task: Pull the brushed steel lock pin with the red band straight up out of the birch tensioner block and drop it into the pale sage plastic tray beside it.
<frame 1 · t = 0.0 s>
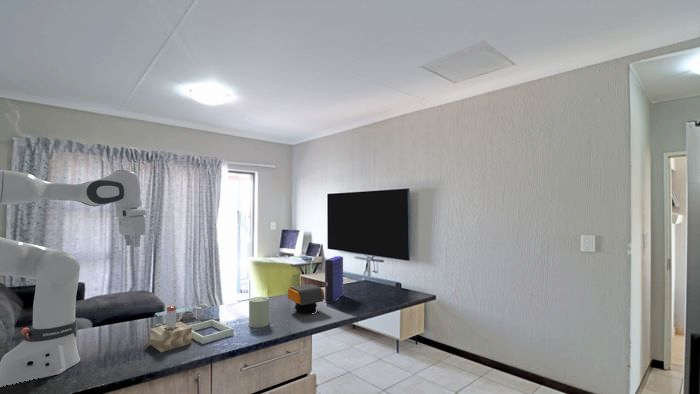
hand: (132, 246, 135), 39 cm above the kitchen counter, tool pointing down, fingers open, 8 cm apart
pulley system: (187, 323, 161), on the kitchen counter
sander: (301, 310, 180), on the kitchen counter
tray: (208, 336, 142), on the kitchen counter
tensioner block: (170, 346, 132), on the kitchen counter
cereal box: (334, 299, 201), on the kitchen counter
lock pin: (170, 343, 132), point 1 cm above the kitchen counter, touching tensioner block
can: (259, 324, 157), on the kitchen counter
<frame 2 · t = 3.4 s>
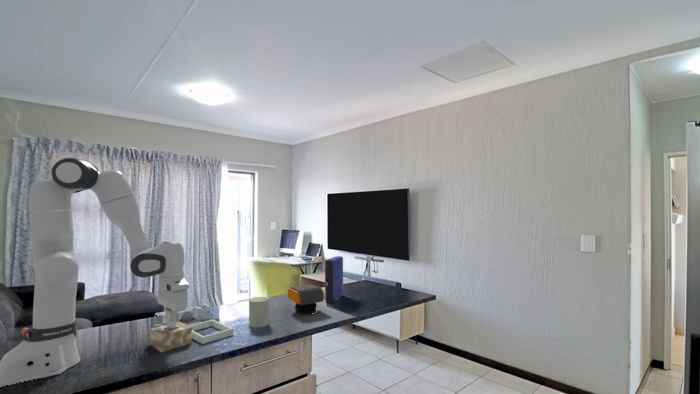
hand: (171, 318, 132), 11 cm above the kitchen counter, tool pointing down, fingers closed on lock pin, 3 cm apart
lock pin: (170, 343, 132), point 1 cm above the kitchen counter, touching gripper, tensioner block
everything else where it was.
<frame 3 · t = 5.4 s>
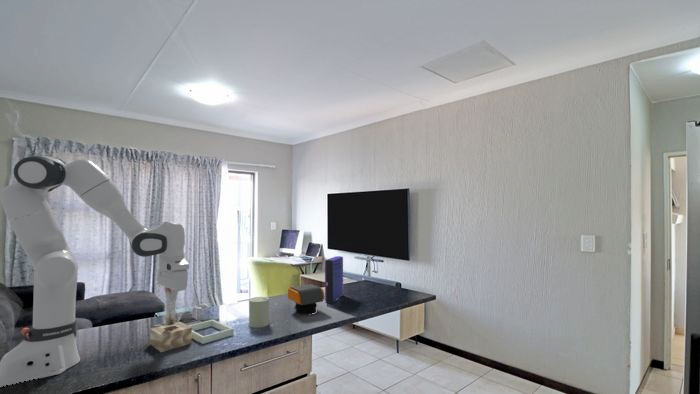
hand: (170, 299, 132), 18 cm above the kitchen counter, tool pointing down, fingers closed on lock pin, 3 cm apart
lock pin: (170, 324, 132), point 9 cm above the kitchen counter, touching gripper
everything else where it was.
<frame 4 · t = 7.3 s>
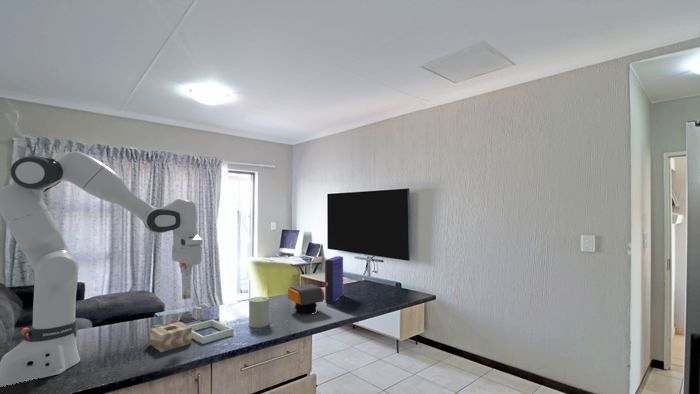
hand: (186, 274, 136), 27 cm above the kitchen counter, tool pointing down, fingers closed on lock pin, 3 cm apart
lock pin: (186, 298, 136), point 18 cm above the kitchen counter, touching gripper
everything else where it was.
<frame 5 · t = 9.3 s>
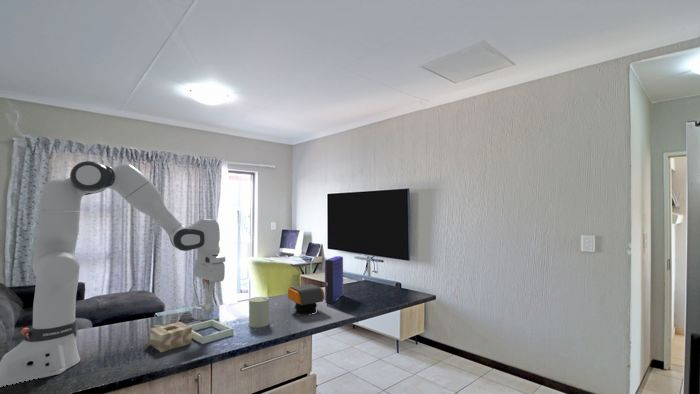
hand: (208, 289, 143), 19 cm above the kitchen counter, tool pointing down, fingers closed on lock pin, 3 cm apart
lock pin: (208, 312, 143), point 10 cm above the kitchen counter, touching gripper
when the fingers open (12 cm above the kitchen counter, at t = 11.2 s): lock pin drops 2 cm, resting on tray.
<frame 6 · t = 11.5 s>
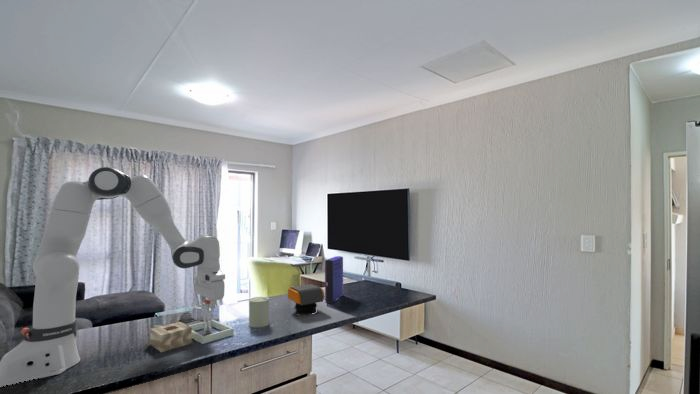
hand: (208, 307, 143), 12 cm above the kitchen counter, tool pointing down, fingers open, 5 cm apart
lock pin: (207, 334, 142), point 1 cm above the kitchen counter, touching tray
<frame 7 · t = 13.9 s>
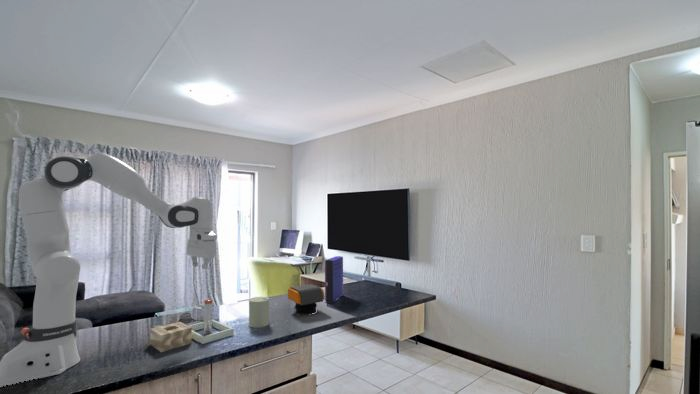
hand: (199, 267, 145), 28 cm above the kitchen counter, tool pointing down, fingers open, 8 cm apart
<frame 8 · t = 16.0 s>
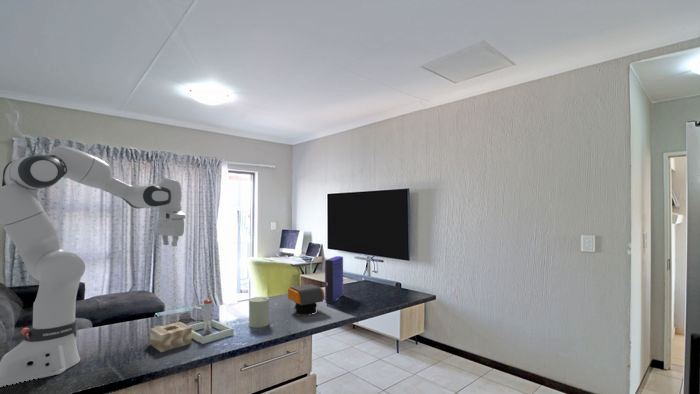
hand: (170, 245, 152), 37 cm above the kitchen counter, tool pointing down, fingers open, 8 cm apart
at the end: lock pin inside the target area on the tray (0.0 cm from its centre), point 0.8 cm above the tray's base; lock pin touching tray; the gripper is holding nothing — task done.
